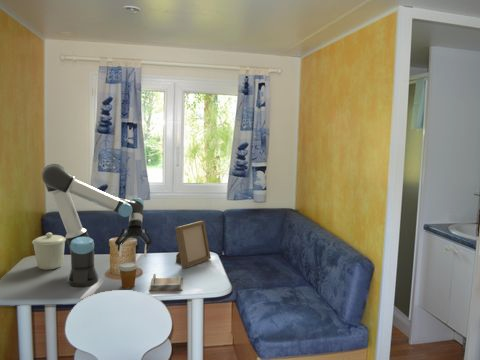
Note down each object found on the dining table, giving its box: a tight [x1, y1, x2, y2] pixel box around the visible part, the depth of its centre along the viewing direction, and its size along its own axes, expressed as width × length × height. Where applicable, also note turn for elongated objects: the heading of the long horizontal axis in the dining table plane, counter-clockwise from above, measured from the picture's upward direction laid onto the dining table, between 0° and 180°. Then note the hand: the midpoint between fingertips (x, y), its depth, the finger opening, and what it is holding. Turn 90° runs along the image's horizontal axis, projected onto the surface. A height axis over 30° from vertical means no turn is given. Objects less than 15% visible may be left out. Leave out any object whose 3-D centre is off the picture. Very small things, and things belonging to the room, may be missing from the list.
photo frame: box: [174, 220, 211, 269], centre depth 248 cm, size 15×22×25 cm
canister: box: [31, 231, 67, 271], centre depth 233 cm, size 18×18×21 cm
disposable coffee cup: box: [118, 261, 138, 289], centre depth 209 cm, size 10×10×12 cm
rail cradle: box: [148, 272, 184, 292], centre depth 212 cm, size 17×16×3 cm
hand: (132, 255), depth 217 cm, fingers open, 13 cm apart
